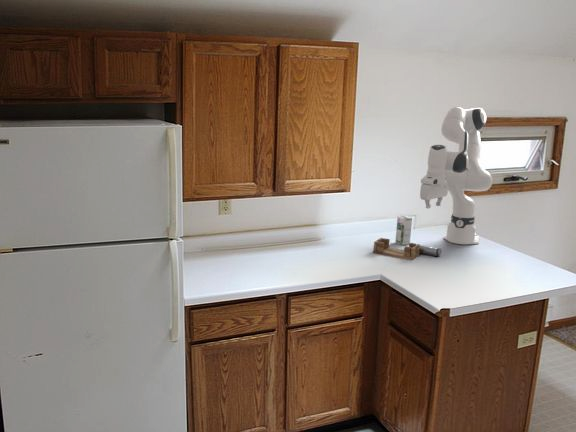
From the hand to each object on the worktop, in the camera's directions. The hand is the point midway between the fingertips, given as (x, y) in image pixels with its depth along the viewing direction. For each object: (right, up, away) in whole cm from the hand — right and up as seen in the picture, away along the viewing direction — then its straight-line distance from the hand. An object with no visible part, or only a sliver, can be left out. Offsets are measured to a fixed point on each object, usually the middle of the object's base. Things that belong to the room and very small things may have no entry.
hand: (433, 206), depth 283 cm
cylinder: (-2, -23, +6) cm, 24 cm away
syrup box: (-10, -19, +24) cm, 32 cm away
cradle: (-17, -23, +6) cm, 29 cm away
